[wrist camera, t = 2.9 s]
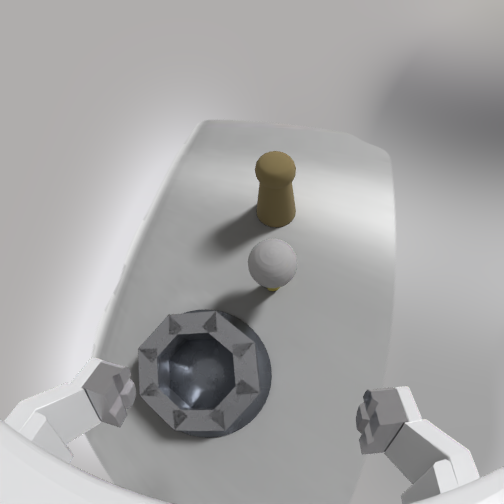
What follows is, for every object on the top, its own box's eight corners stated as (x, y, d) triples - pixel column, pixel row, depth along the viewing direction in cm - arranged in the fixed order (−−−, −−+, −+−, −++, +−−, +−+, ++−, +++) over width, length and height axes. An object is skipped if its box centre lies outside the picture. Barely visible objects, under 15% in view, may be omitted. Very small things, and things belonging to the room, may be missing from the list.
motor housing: (278, 432, 29) (278, 439, 25) (147, 433, 30) (132, 438, 26) (264, 304, 37) (262, 293, 33) (143, 315, 37) (128, 305, 33)
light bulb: (246, 297, 38) (237, 266, 29) (261, 262, 40) (257, 223, 31) (285, 310, 36) (289, 283, 28) (298, 274, 39) (305, 237, 30)
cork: (251, 222, 43) (243, 172, 33) (263, 191, 45) (259, 141, 36) (289, 231, 42) (293, 183, 32) (299, 200, 44) (304, 149, 34)
